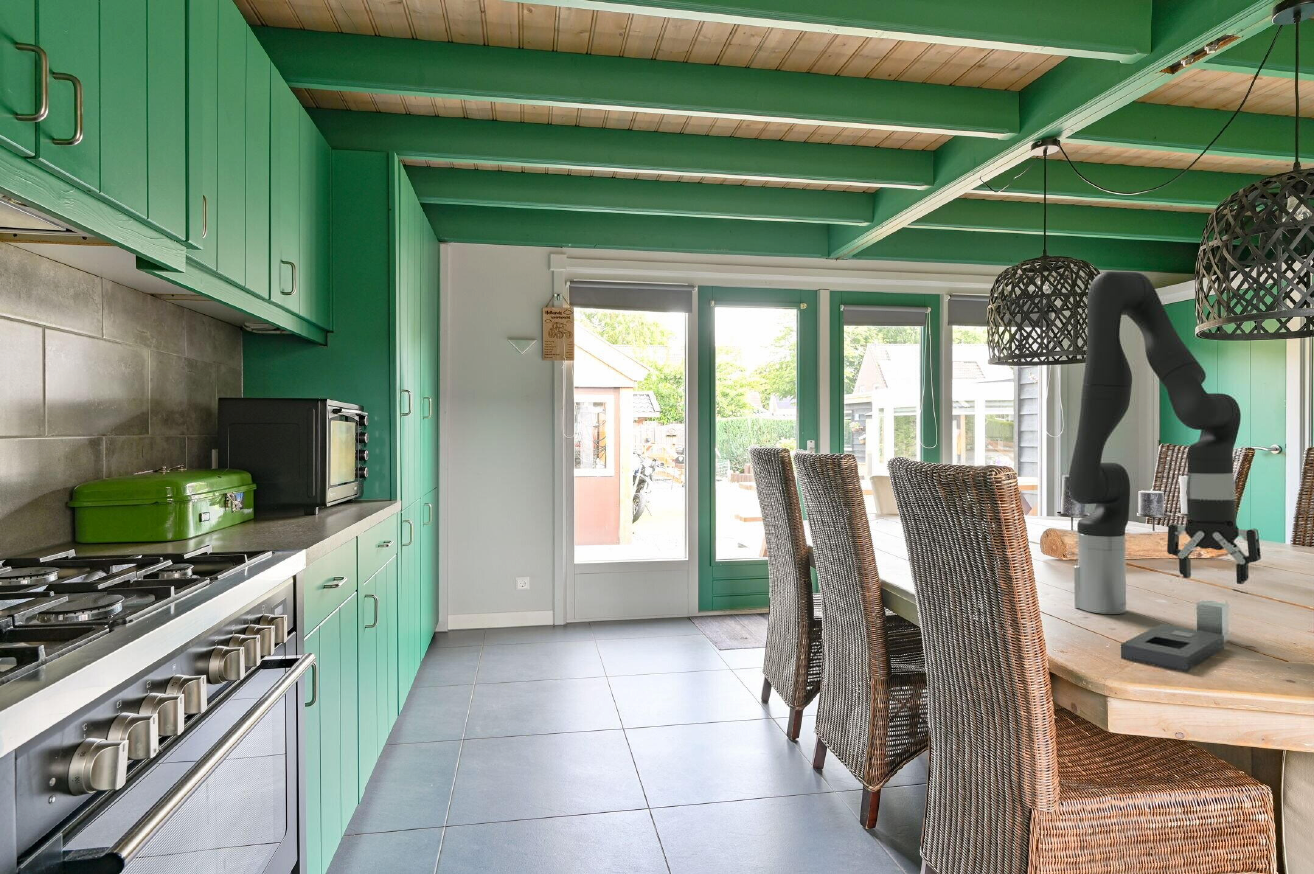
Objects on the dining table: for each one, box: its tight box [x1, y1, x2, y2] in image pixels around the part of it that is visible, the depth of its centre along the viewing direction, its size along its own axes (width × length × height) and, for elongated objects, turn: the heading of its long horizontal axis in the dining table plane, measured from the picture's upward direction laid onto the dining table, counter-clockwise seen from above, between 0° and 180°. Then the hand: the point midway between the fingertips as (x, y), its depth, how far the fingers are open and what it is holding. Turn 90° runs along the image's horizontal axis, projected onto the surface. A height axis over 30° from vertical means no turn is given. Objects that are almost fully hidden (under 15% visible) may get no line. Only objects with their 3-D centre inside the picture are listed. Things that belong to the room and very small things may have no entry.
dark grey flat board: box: [1120, 623, 1225, 673], centre depth 133 cm, size 10×20×3 cm, turn 128°
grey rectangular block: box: [1196, 600, 1230, 643], centre depth 140 cm, size 4×4×7 cm
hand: (1213, 580), depth 140 cm, fingers open, 8 cm apart
